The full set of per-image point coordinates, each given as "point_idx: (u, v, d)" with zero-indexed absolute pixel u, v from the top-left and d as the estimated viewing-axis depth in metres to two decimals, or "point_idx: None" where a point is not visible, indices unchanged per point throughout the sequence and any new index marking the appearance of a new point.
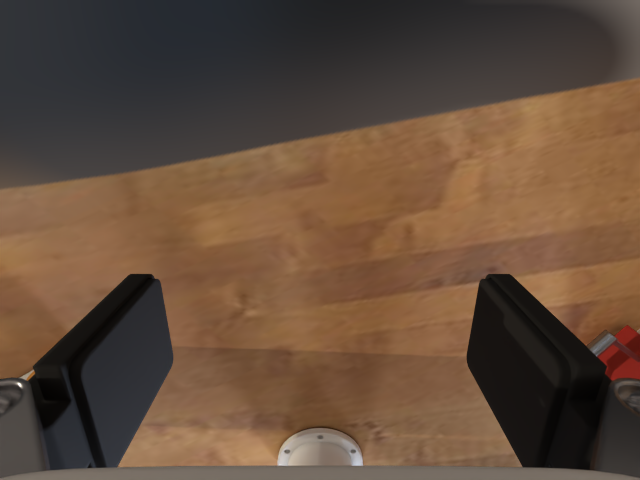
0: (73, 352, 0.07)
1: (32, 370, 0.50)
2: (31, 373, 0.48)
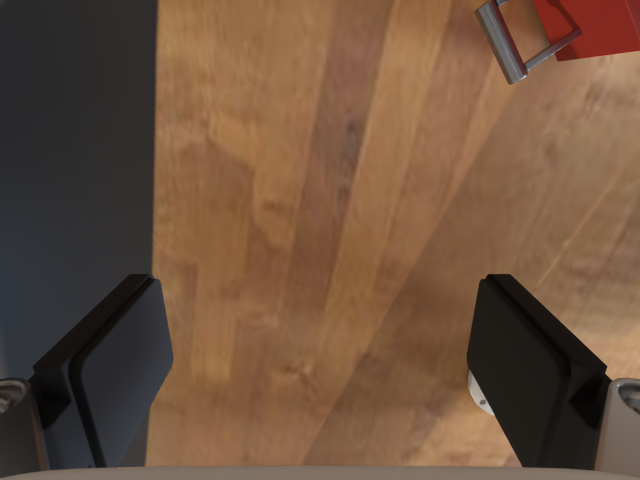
0: (73, 352, 0.07)
1: None
2: None
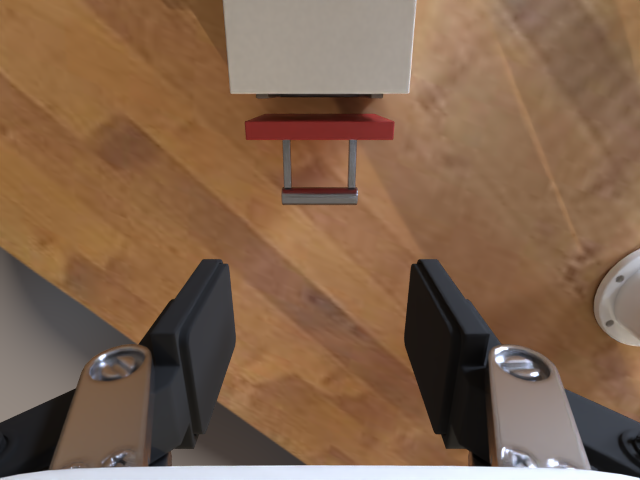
0: (179, 323, 0.08)
1: None
2: None
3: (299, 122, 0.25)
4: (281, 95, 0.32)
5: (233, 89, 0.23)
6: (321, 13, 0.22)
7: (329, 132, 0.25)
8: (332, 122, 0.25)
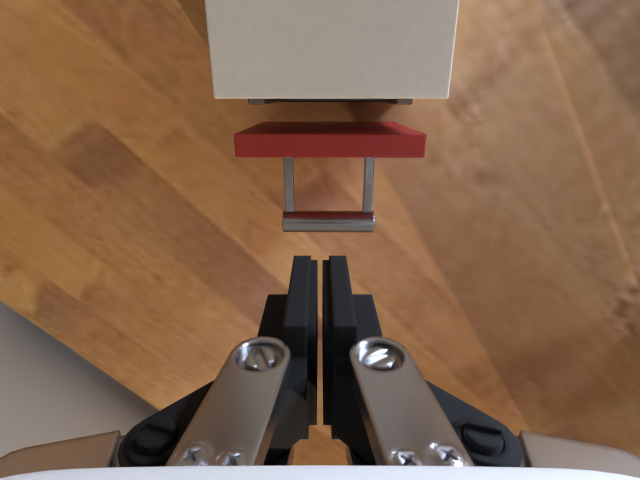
0: (304, 316, 0.08)
1: None
2: None
3: (303, 135, 0.19)
4: (282, 100, 0.27)
5: (217, 93, 0.18)
6: None
7: (342, 147, 0.19)
8: (346, 135, 0.19)
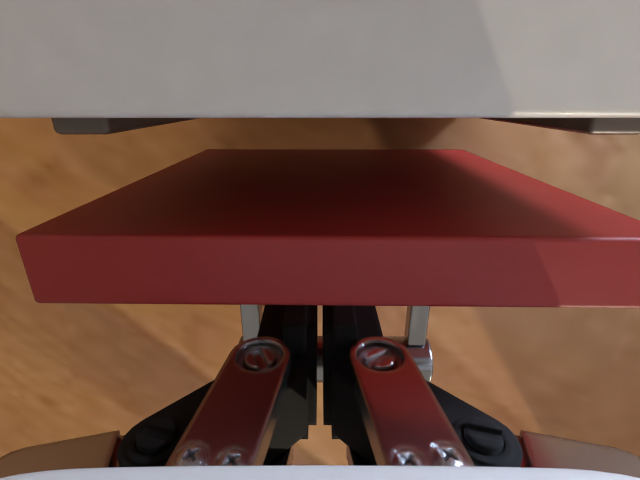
0: (303, 316, 0.08)
1: None
2: None
3: (254, 241, 0.06)
4: None
5: None
6: None
7: (387, 279, 0.06)
8: (403, 241, 0.06)
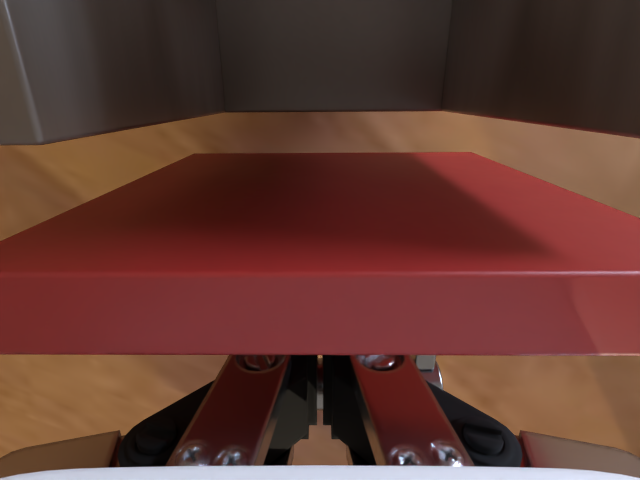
0: None
1: None
2: None
3: (232, 279, 0.04)
4: (227, 108, 0.12)
5: None
6: None
7: (400, 324, 0.05)
8: (421, 279, 0.04)
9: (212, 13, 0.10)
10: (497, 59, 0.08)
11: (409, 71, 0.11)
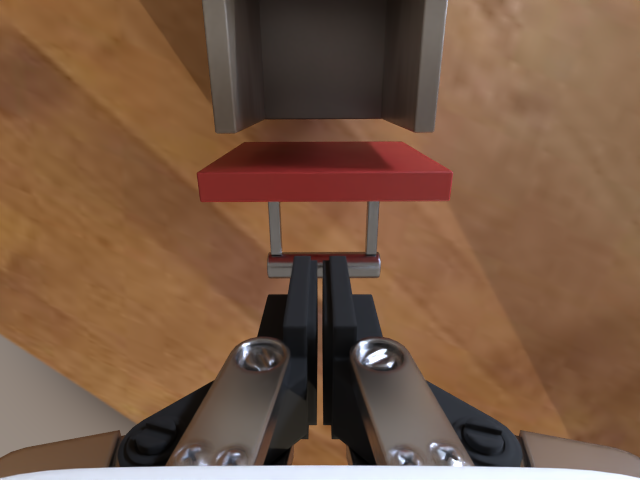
0: (304, 316, 0.08)
1: None
2: None
3: (290, 174, 0.14)
4: (266, 117, 0.22)
5: None
6: None
7: (341, 189, 0.15)
8: (347, 173, 0.14)
9: (261, 69, 0.20)
10: (393, 98, 0.18)
11: (363, 98, 0.21)
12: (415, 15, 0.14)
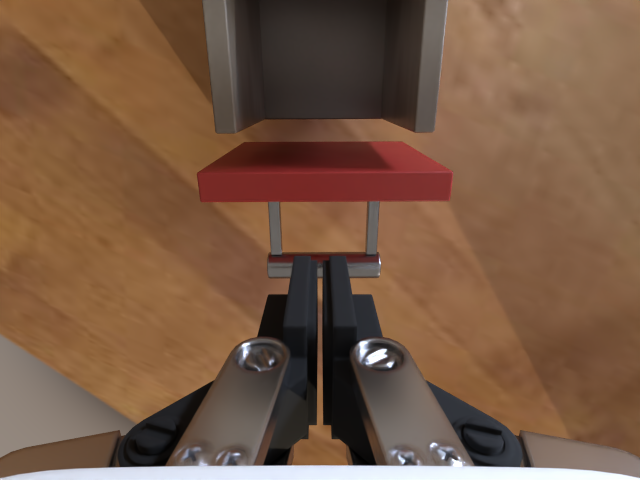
0: (304, 316, 0.08)
1: None
2: None
3: (290, 174, 0.14)
4: (266, 116, 0.22)
5: None
6: None
7: (341, 189, 0.15)
8: (347, 173, 0.14)
9: (261, 69, 0.20)
10: (393, 98, 0.18)
11: (363, 98, 0.21)
12: (415, 15, 0.14)
